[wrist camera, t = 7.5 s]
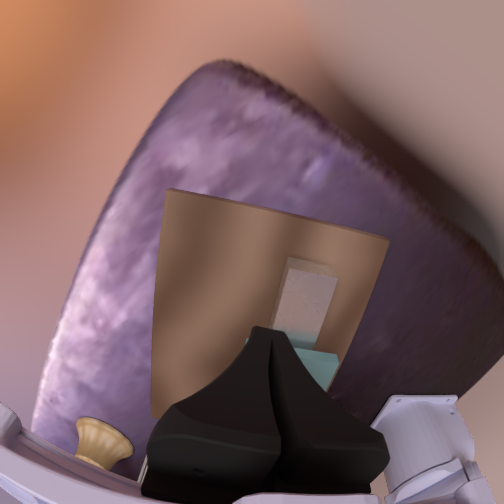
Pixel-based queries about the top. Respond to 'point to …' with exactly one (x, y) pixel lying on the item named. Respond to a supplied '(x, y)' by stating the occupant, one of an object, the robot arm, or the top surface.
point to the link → (303, 301)
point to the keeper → (318, 365)
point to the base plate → (242, 285)
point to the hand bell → (101, 443)
